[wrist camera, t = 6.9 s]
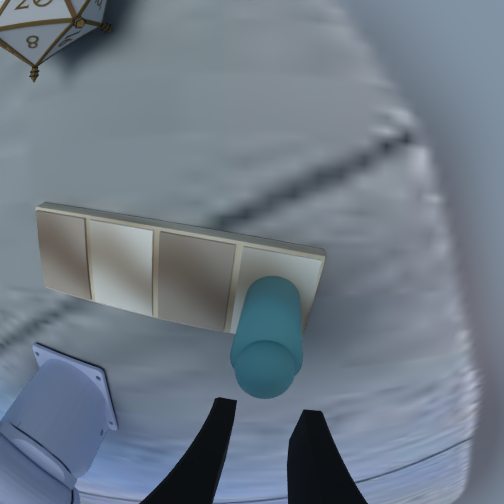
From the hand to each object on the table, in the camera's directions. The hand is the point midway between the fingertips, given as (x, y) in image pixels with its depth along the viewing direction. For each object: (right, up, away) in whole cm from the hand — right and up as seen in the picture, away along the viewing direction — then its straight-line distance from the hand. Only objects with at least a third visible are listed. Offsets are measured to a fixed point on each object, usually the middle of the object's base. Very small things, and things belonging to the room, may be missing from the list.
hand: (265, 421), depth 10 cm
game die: (-10, +20, +3) cm, 23 cm away
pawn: (+1, +3, +7) cm, 8 cm away
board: (-6, +5, +9) cm, 12 cm away
